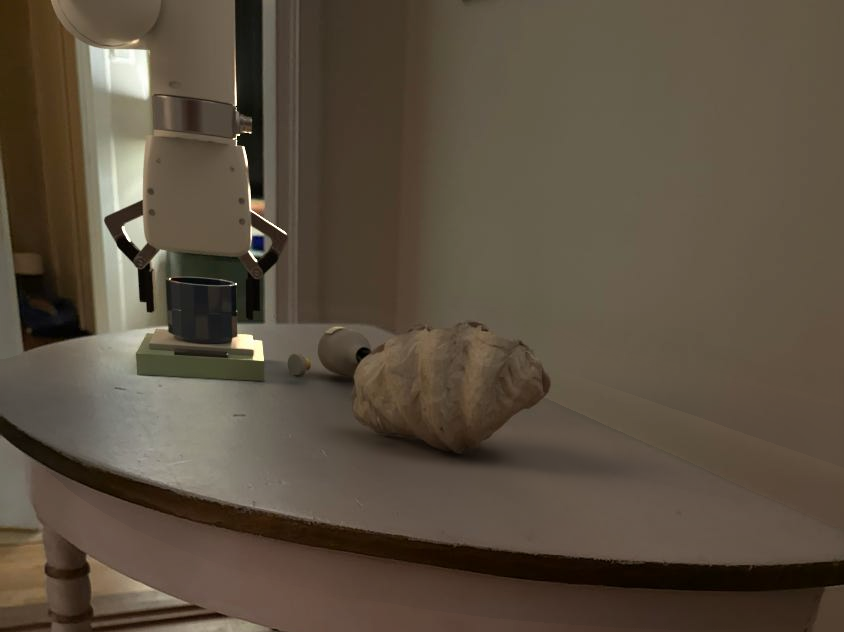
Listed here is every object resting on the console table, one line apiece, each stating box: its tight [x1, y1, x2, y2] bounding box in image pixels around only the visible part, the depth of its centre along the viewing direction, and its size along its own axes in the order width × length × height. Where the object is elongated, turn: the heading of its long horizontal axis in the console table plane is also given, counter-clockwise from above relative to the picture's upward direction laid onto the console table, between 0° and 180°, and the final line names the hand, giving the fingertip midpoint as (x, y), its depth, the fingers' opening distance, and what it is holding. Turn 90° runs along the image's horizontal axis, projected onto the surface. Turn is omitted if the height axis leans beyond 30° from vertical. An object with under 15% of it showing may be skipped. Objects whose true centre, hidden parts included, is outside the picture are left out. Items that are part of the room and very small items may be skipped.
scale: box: [135, 328, 265, 382], centre depth 94 cm, size 12×12×3 cm
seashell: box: [350, 319, 552, 454], centre depth 73 cm, size 10×15×10 cm
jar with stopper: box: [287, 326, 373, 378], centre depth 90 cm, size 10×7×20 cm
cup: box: [165, 276, 238, 344], centre depth 93 cm, size 7×7×6 cm
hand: (201, 314), depth 93 cm, fingers open, 9 cm apart
